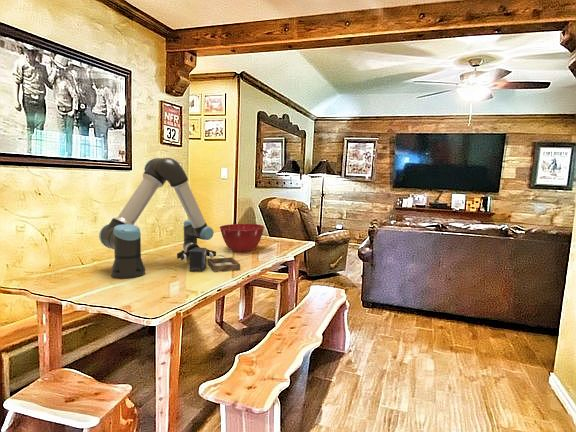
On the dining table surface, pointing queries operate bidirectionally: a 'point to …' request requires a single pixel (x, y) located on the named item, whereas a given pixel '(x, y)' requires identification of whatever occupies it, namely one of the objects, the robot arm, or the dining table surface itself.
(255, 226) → the mixing bowl
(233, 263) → the walnut tray
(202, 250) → the small box
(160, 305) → the dining table surface
